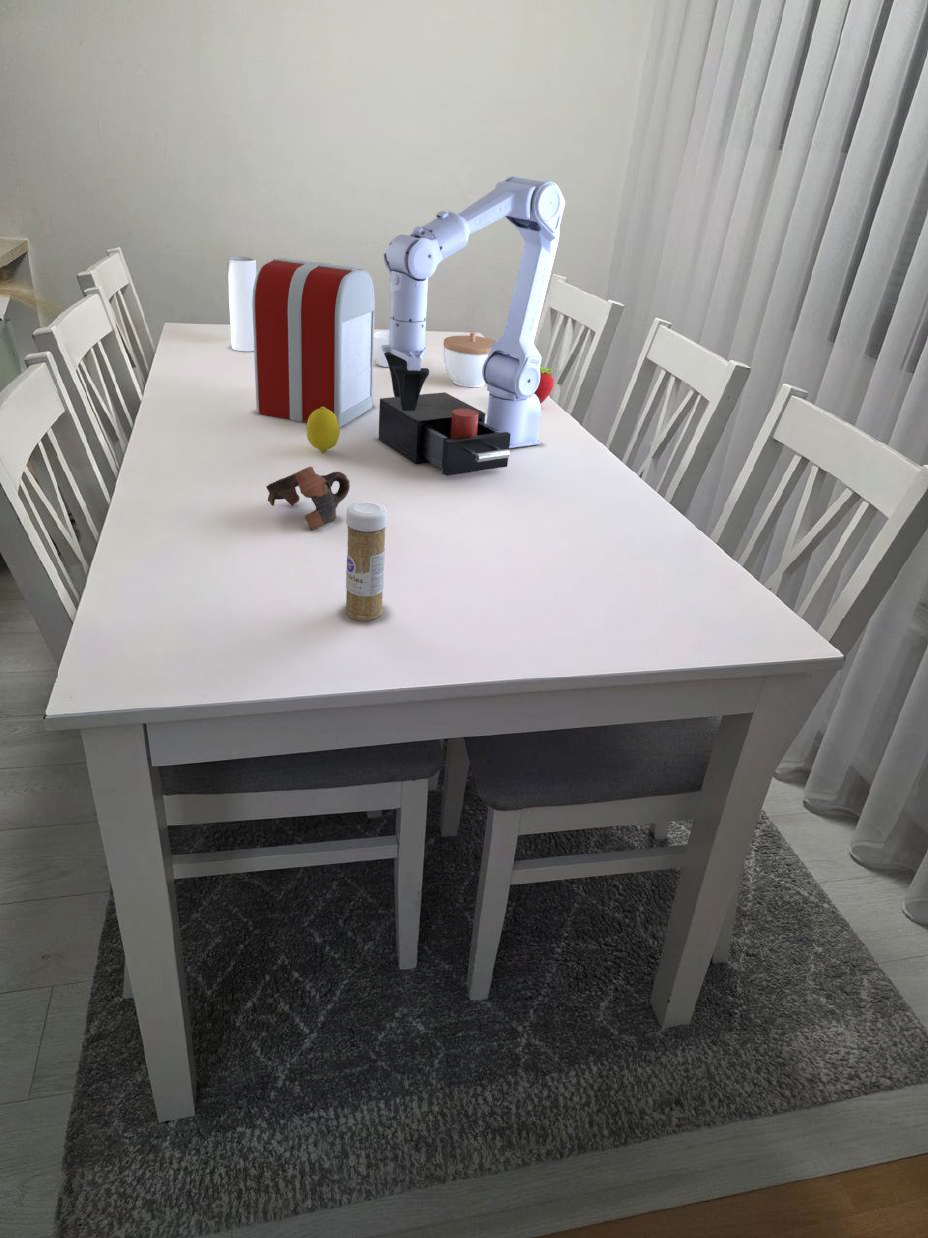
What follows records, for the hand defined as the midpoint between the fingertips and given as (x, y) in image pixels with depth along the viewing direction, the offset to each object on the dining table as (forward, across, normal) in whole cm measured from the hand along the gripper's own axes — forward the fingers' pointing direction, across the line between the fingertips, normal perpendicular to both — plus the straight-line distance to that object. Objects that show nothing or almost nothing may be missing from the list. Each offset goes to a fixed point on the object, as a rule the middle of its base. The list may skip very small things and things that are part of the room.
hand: (404, 403), depth 146 cm
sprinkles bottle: (+10, +51, -13) cm, 54 cm away
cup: (+7, -65, +7) cm, 66 cm away
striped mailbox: (+10, -30, -12) cm, 34 cm away
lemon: (+10, -5, -13) cm, 17 cm away
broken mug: (+10, +22, -17) cm, 30 cm away
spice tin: (+8, +2, +10) cm, 13 cm away
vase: (+10, -79, -22) cm, 83 cm away
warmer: (+10, -8, +6) cm, 14 cm away
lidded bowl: (+10, -51, +24) cm, 57 cm away
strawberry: (+10, -32, +34) cm, 48 cm away
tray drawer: (+9, +3, +10) cm, 14 cm away
